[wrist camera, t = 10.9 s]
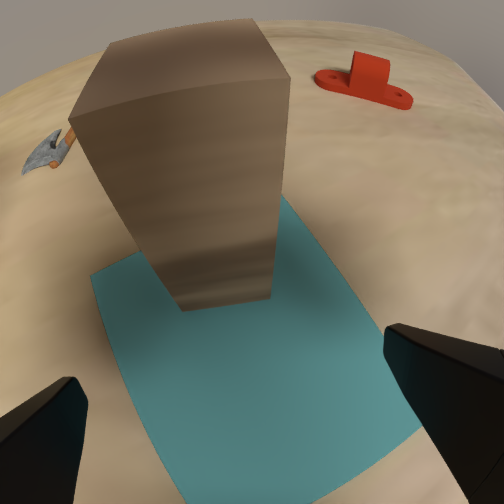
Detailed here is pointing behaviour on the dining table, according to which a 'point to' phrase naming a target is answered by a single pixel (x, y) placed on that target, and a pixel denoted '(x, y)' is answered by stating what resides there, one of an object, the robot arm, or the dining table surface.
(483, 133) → the dining table surface
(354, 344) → the mat
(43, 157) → the axe
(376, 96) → the bracket
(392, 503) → the dining table surface
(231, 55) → the walnut block
